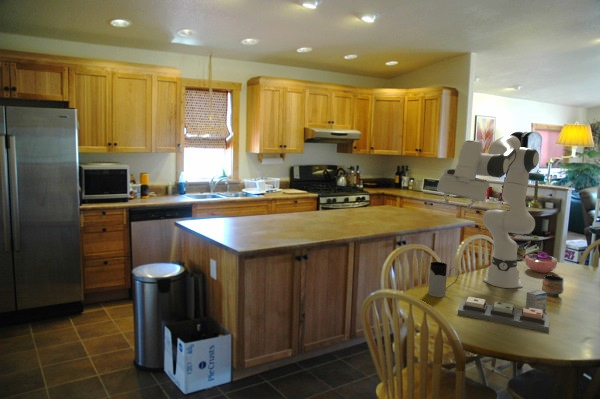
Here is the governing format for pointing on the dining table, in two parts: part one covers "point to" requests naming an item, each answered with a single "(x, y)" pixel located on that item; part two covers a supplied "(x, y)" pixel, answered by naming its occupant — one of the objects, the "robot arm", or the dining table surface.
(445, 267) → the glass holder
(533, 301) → the medicine box
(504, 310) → the key two
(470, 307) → the key panel
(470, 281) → the dining table surface
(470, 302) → the key one
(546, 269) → the cell model
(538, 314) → the key three
